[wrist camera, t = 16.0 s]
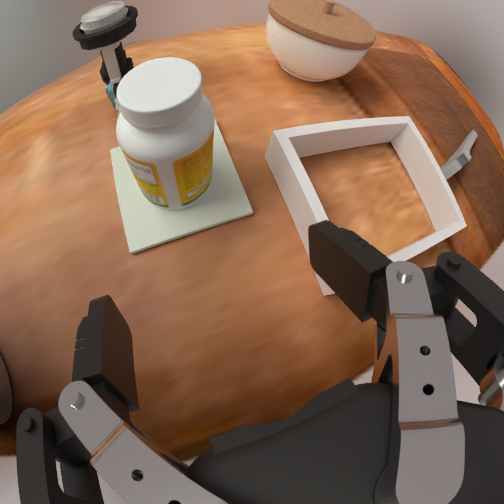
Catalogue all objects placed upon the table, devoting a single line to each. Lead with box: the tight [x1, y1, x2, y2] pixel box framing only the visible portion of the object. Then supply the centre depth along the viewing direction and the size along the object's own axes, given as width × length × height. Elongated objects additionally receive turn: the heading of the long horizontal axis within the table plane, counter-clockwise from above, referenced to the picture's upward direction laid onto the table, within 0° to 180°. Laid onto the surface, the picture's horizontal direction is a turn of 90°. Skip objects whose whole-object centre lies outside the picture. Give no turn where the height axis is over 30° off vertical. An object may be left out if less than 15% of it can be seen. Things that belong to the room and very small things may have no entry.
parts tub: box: [265, 116, 467, 296], centre depth 20 cm, size 12×15×4 cm
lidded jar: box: [266, 0, 376, 82], centre depth 21 cm, size 11×11×9 cm
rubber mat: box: [110, 118, 253, 254], centre depth 20 cm, size 9×9×1 cm
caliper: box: [440, 130, 477, 180], centre depth 23 cm, size 20×1×6 cm, turn 127°
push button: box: [73, 1, 138, 116], centre depth 16 cm, size 7×5×10 cm
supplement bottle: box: [116, 57, 215, 210], centre depth 15 cm, size 5×5×10 cm
